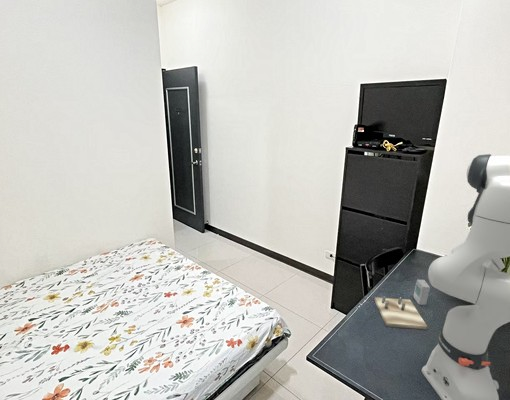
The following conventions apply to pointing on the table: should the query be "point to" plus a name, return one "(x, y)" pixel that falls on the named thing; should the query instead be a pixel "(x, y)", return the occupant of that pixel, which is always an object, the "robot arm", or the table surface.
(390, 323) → the pin tray
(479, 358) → the robot arm
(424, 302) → the drive
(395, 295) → the table surface
